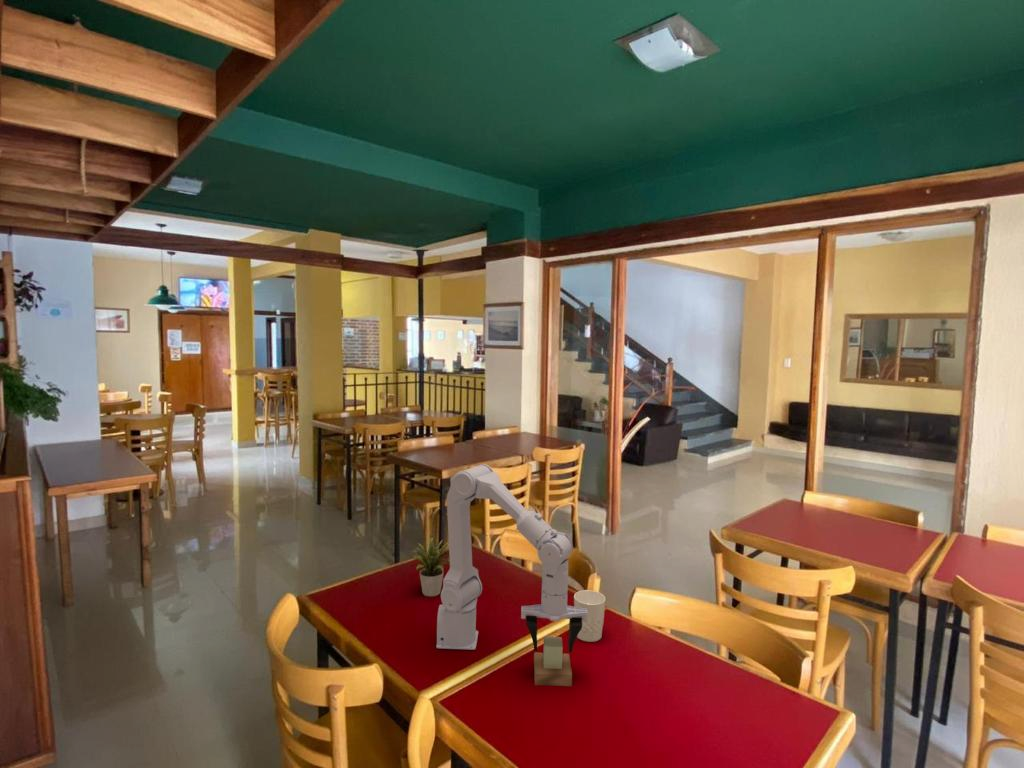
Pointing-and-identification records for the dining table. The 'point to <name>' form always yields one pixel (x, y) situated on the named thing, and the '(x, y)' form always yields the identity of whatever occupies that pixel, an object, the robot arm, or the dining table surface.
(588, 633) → the white cup
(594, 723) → the dining table surface
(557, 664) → the green block
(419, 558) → the house plant
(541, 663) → the walnut base
